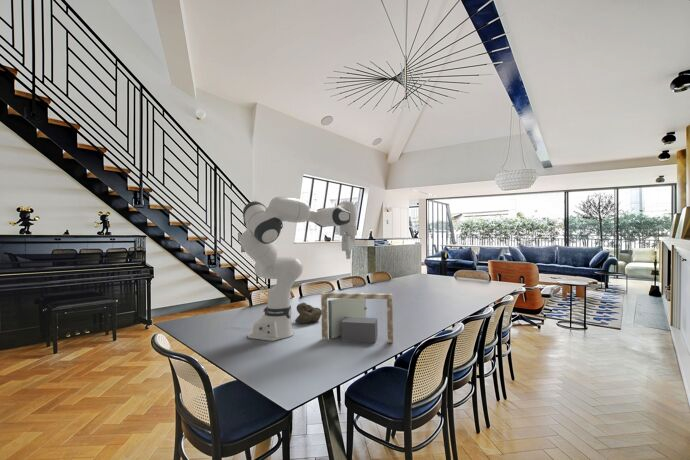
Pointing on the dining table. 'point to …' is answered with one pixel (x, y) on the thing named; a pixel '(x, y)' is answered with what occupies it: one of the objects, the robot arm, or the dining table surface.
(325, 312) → the door frame
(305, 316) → the decorative stone
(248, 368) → the dining table surface
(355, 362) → the dining table surface
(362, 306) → the door
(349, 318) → the block
